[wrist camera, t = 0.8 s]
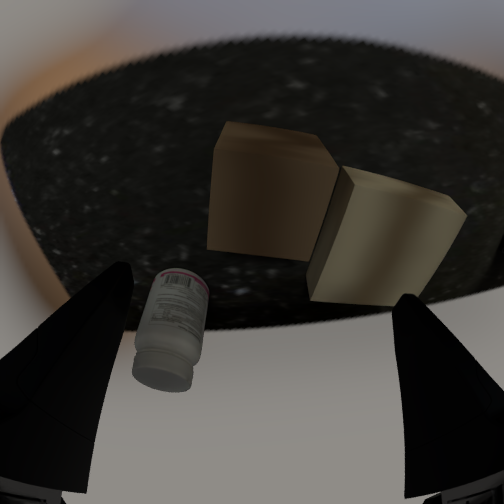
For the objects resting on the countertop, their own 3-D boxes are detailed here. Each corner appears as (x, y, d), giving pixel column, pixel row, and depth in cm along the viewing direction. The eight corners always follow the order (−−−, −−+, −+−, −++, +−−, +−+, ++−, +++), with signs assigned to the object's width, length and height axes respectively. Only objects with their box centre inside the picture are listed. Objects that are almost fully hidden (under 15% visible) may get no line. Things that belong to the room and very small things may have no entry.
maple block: (446, 193, 16) (467, 215, 14) (399, 280, 22) (410, 306, 20) (340, 163, 16) (355, 184, 13) (305, 271, 21) (310, 300, 19)
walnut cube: (316, 135, 14) (339, 168, 10) (297, 208, 17) (308, 261, 14) (226, 120, 14) (214, 148, 10) (218, 198, 17) (207, 249, 13)
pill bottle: (185, 312, 24) (168, 398, 18) (143, 283, 22) (113, 372, 16) (222, 291, 22) (212, 388, 16) (178, 256, 20) (149, 357, 14)
